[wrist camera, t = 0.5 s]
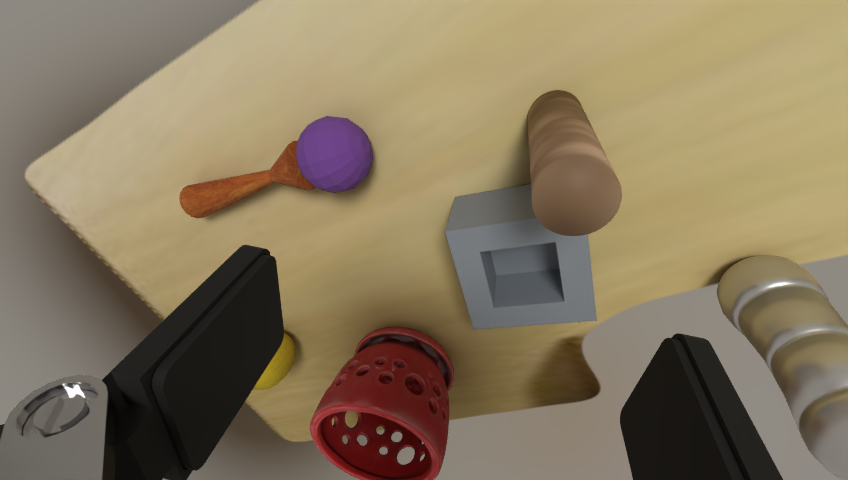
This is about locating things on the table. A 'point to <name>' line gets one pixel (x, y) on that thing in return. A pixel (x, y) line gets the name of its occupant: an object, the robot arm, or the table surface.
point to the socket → (517, 263)
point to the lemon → (278, 365)
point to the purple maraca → (294, 167)
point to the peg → (569, 168)
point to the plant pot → (388, 407)
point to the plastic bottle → (796, 347)
